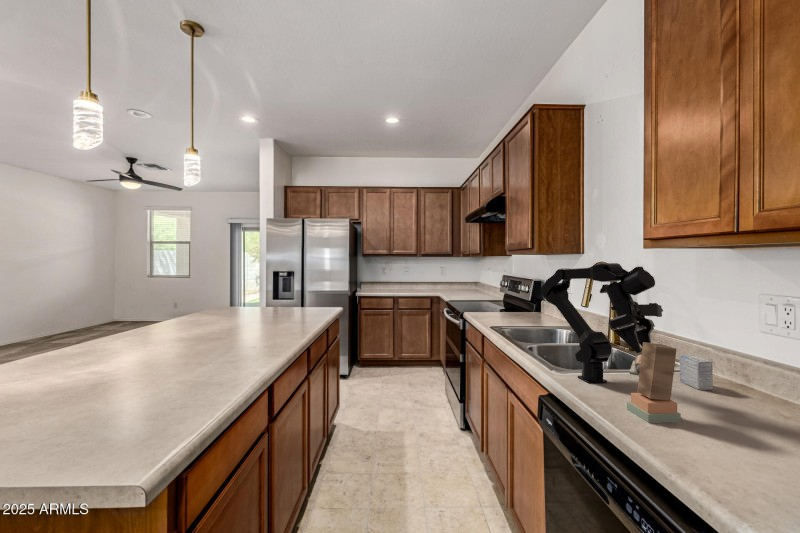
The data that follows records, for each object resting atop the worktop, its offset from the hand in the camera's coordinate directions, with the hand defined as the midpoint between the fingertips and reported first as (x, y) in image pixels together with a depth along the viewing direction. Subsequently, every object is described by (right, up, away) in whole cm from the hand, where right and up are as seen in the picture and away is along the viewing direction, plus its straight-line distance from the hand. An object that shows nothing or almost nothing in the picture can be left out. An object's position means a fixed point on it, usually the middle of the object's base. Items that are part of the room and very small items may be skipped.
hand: (644, 352), depth 104 cm
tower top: (-5, -11, -11) cm, 16 cm away
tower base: (-5, -14, -11) cm, 18 cm away
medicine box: (+23, -13, +11) cm, 29 cm away
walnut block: (-5, -8, -11) cm, 15 cm away
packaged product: (+20, -13, +28) cm, 37 cm away
